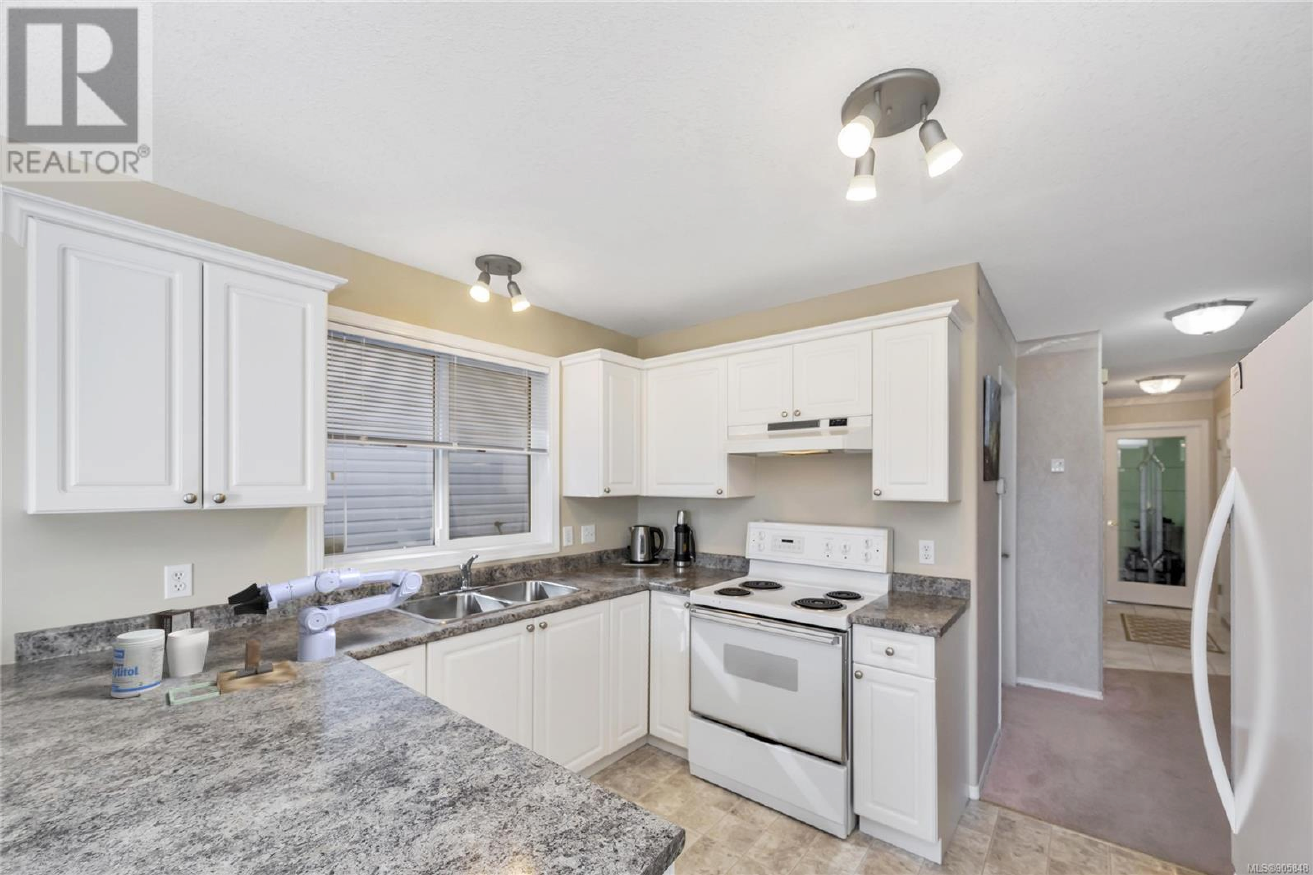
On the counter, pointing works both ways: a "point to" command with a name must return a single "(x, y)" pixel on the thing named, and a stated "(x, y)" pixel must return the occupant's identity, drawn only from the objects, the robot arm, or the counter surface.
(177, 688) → the tray
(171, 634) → the cup
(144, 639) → the supplement tub
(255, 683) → the slot board
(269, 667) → the grey cube
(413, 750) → the counter surface
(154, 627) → the coffee box
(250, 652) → the brown wooden block
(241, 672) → the dark grey cube
